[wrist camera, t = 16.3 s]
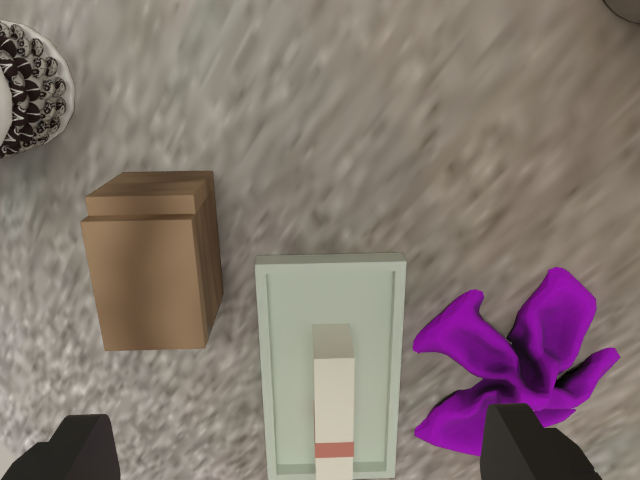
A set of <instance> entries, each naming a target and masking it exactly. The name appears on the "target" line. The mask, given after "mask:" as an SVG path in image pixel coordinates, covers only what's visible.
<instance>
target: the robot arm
mask: <svg viewBox="0 0 640 480" xmlns="http://www.w3.org/2000/svg"><path fill="white" fill-rule="evenodd" d="M605 2H606V3H607V5H608V6H609V7H610V8H611V9H612V10H613V11H614V12H615V13H616V14H617V15H619V16H620V17H622V18H624V19H626V20H628V21H630V22H635V23H639V24H640V0H605ZM480 472H481V479H482V480H602V478H601V477H600V476H599V474H598V473H597V472H595V471H594V467H593V466H592V464H591V463H590V461H589V460H588V459H587V457H586V456H585V454H584V453H583V451H582V450H581V449H580V447H579V446H578V445H577V444H575V443H574V442H573V441H572V440H570V439H569V438H568V437H567V436H565V435H564V434H563V433H562V432H560V431H559V430H558V429H557V428H544V427H543V426H542V424H541V423H540V421H539V419H538V418H537V416H536V415H535V413H534V412H533V410H532V409H531V407H530V406H529V405H528V404H526V403H507V404H490V405H489V406H488V408H487V412H486V419H485V426H484V434H483V441H482V449H481V457H480ZM1 480H120V467H119V462H118V457H117V452H116V447H115V442H114V437H113V431H112V426H111V422H110V419H109V417H108V415H106V414H90V415H68V416H67V417H65V418H64V420H63V421H62V422H61V424H60V425H59V427H58V428H57V430H56V431H55V433H54V434H53V436H52V437H51V439H50V440H49V442H38V443H36V444H35V445H34V446H33V447H31V448H30V449H29V450H28V451H27V452H25V453H24V454H23V455H22V456H20V457H19V458H18V459H17V460H16V461H14V462H13V463H12V465H11V466H10V468H9V469H8V470H7V472H6V473H5V475H4V476H3V477H2V479H1Z"/></svg>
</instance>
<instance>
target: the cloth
mask: <svg viewBox="0 0 640 480" xmlns="http://www.w3.org/2000/svg"><path fill="white" fill-rule="evenodd" d="M483 298H484V295H483V292H482V291H479V290H476V289H475V290H469V291H468V292H466V293H464V294H462V295H461V296H459V297H458V298H457V299H455V300H454V301H453V302H452V303H451V304H450V305H449V306H448V307H447V309H446V310H445V311H444V312H443V313H441V314H439V315H438V316H437V317H436V318H435V319H434V320H433V321H432V322H431V323H429V324H428V325H427V326H426V327H425V328H423V329H422V330H421V331H420V332H419V334H418V335H417V336H416V338H415V340H414V342H413V351H415V352H418V354H419V353H421V352H438V353H442V354H445V355H448V356H449V357H451V358H452V359H453V360H455V361H456V362H457V363H459V364H460V365H461V366H463V367H464V368H465V369H466V370H467V371H469V372H470V373H471V374H473V375H475V376H478V377H482V378H483V379H482V381H480V382H479V383H477V384H476V385H475V386H473V387H472V388H470V389H466V390H457V391H455V392H454V393H453V394H452V395H451V396H450V397H449V398H448V399H447V400H445V401H444V402H443V403H442V404H440V405H438V406H436V407H435V408H434V409H433V410H432V411H431V412H430V413H429V415H428V416H427V418H426V419H425V420H424V421H423V422H422V423H421V424H420V425H419V426H417V427H416V429H415V436H416V437H418V438H420V439H422V440H424V441H426V442H428V443H430V444H433V445H435V446H438V447H442V448H446V449H449V450H453V451H457V452H461V453H466V454H471V455H475V456H481V449H482V441H483V434H484V426H485V419H486V412H487V408H488V406H489V405H490V404H507V403H526V404H528V405H529V406H530V407H531V409H532V410H535V411H534V413H535V415H536V416H537V418H538V419H539V421H540V423H541V424H542V426H543V427H547V426H550V425H553V424H556V423H559V422H562V421H564V420H565V419H567V418H568V417H569V416H570V415H571V414H573V413H574V412H575V411H576V410H575V409H572V408H575V407H577V406H579V405H580V404H582V403H583V402H585V401H586V400H587V399H589V398H590V396H591V394H592V392H593V390H594V388H595V386H596V384H597V382H598V381H599V379H600V378H601V377H602V376H603V375H604V374H605V373H606V372H607V371H608V370H609V369H610V368H611V367H612V366H613V364H614V363H615V362H616V361H617V360H618V359H619V358H620V356H619V354H618V353H617V351H616V349H615V348H605V349H603V350H600V351H598V352H596V353H594V354H592V355H591V356H590V357H589V358H588V359H587V360H586V361H585V362H584V364H583V365H582V367H580V368H579V369H577V370H576V371H574V372H573V373H571V374H570V375H568V376H566V377H564V378H561V379H559V380H558V381H556V378H557V376H558V375H559V374H561V373H562V372H564V371H565V370H566V369H568V368H569V367H571V366H572V364H573V362H574V361H575V359H576V357H577V355H578V353H579V350H580V347H581V344H582V341H583V338H584V336H585V334H586V332H587V330H588V328H589V326H590V324H591V322H592V320H593V317H594V315H595V312H596V298H595V297H594V296H593V295H592V294H591V293H590V292H589V291H588V290H587V289H586V288H585V287H584V286H583V285H582V284H581V283H580V282H579V281H578V280H576V279H575V278H574V277H573V276H572V275H571V274H570V273H569V272H568V271H566V270H565V269H563V268H559V267H555V268H553V269H549V270H548V274H547V275H546V277H545V278H544V280H543V282H542V283H541V286H540V287H539V288H538V289H537V290H536V291H535V292H534V294H533V295H532V296H531V297H530V298H529V299H528V300H527V301H526V303H525V304H524V305H523V306H522V308H521V309H520V311H519V312H518V315H517V318H516V322H515V326H514V328H513V330H512V331H511V333H510V335H508V336H507V340H509V341H510V342H512V345H511V344H510V343H509V342H508V341H507V340H506V339H505V338H504V337H503V336H501V335H500V334H499V333H498V332H497V331H496V330H495V329H493V328H492V327H491V326H490V325H489V324H488V323H486V322H485V321H484V320H483V319H482V317H481V315H480V314H479V308H480V305H481V303H482V301H483Z"/></svg>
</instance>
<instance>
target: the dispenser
mask: <svg viewBox="0 0 640 480" xmlns="http://www.w3.org/2000/svg"><path fill="white" fill-rule="evenodd" d="M85 200H86V205H87V211H88V216H87V217H86V218H85V219H83V220H82V221H81V222H80V223H81V228H82V234H83V239H84V244H85V249H86V254H87V260H88V265H89V270H90V275H91V281H92V286H93V291H94V296H95V302H96V307H97V312H98V317H99V323H100V328H101V333H102V338H103V344H104V349H105V351H123V350H161V349H200V348H205V347H206V344H207V341H208V338H209V335H210V332H211V329H212V326H213V324H214V321H215V318H216V315H217V312H218V309H219V306H220V303H221V300H222V297H223V283H222V272H221V260H220V249H219V238H218V226H217V215H216V204H215V192H214V181H213V171H171V172H123V173H121V174H120V175H118V176H117V177H115V178H114V179H112V180H110V181H109V182H107V183H106V184H104V185H103V186H101V187H100V188H98V189H97V190H95V191H94V192H92V193H91V194H89V195H87V196H86V197H85Z"/></svg>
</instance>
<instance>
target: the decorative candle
mask: <svg viewBox="0 0 640 480" xmlns="http://www.w3.org/2000/svg"><path fill="white" fill-rule="evenodd" d="M74 100H75V85H74V83H73V80H72V77H71V74H70V71H69V68H68V66H67V63H66V61H65V60H64V59H63V57H62V56H61V55H60V54H59V52H58V51H57V50H56V49H55V47H54V46H53V45H52V43H51V42H50V41H49V40H48V39H46V38H45V37H43V36H41V35H40V34H38V33H37V32H35V31H34V30H32V29H30V28H29V27H27V26H26V25H22V24H17V23H12V22H8V21H3V20H0V159H1V158H3V157H4V156H13V155H16V154H17V153H19V152H24V151H27V150H29V149H31V148H33V147H34V146H40V145H42V144H46V143H48V142H49V141H51V140H52V139H53V138H55V137H56V136H57V135H59V134H60V133H61V132H63V131H64V130H65V128H66V126H67V124H68V122H69V120H70V118H71V116H72V114H73V112H74Z"/></svg>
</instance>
